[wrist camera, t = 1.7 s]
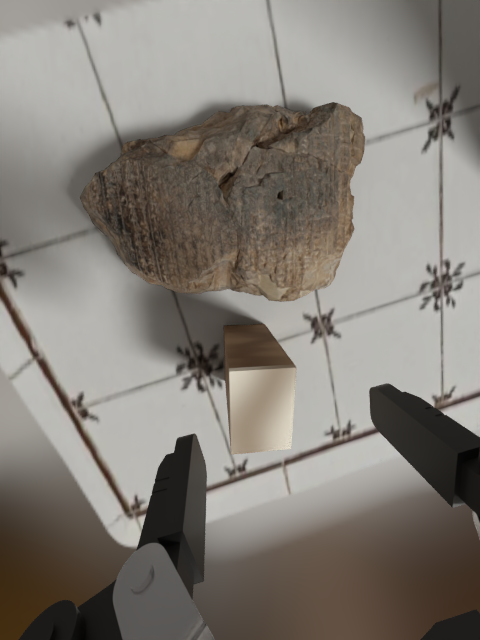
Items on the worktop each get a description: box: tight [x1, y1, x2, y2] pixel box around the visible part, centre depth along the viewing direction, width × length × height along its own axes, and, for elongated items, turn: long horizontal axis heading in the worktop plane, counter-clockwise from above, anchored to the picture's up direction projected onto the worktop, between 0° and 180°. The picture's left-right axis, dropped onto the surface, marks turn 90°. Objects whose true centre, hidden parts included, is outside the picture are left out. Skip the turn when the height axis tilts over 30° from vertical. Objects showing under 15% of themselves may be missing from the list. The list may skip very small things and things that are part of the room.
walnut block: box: [224, 324, 296, 455], centre depth 18 cm, size 4×6×9 cm, turn 1°
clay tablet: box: [80, 102, 365, 301], centre depth 17 cm, size 14×5×20 cm
